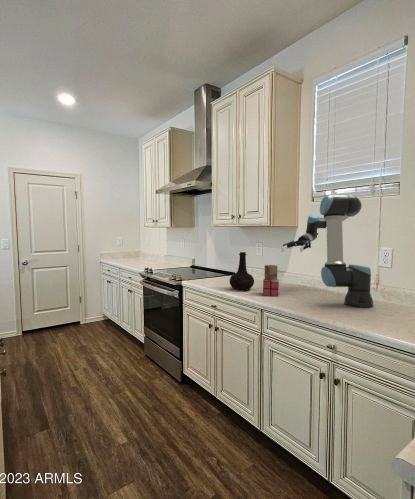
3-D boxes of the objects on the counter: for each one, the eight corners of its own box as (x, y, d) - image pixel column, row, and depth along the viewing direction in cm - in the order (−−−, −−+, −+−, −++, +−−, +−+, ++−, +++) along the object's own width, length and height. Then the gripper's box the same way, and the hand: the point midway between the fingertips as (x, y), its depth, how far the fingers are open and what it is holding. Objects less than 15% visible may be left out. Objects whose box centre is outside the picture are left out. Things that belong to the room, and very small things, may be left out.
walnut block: (277, 280, 201) (277, 265, 200) (270, 281, 198) (270, 266, 197) (271, 279, 206) (271, 264, 205) (264, 279, 203) (264, 265, 203)
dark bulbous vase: (224, 289, 220) (224, 252, 219) (239, 286, 233) (240, 250, 231) (243, 293, 208) (244, 253, 206) (258, 289, 220) (259, 252, 219)
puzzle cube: (278, 296, 197) (278, 281, 196) (262, 295, 199) (263, 281, 198) (278, 293, 207) (278, 279, 206) (263, 292, 209) (263, 278, 208)
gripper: (322, 244, 205) (309, 255, 191) (290, 245, 222) (275, 255, 208) (321, 234, 203) (308, 244, 189) (288, 235, 221) (273, 244, 206)
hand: (291, 249), depth 198 cm, fingers open, 13 cm apart
